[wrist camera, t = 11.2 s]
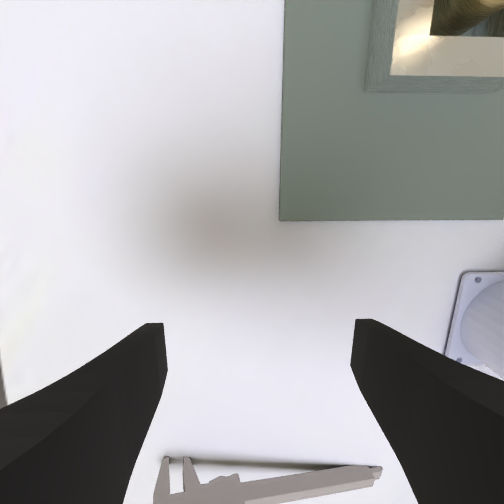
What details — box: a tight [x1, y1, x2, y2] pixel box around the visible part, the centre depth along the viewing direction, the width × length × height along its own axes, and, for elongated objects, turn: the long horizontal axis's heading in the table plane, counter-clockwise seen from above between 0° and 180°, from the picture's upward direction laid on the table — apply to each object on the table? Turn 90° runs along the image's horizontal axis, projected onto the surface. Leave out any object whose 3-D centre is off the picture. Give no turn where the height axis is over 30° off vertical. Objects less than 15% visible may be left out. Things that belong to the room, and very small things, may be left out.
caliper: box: [153, 457, 383, 504], centre depth 23 cm, size 20×1×6 cm, turn 84°
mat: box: [279, 0, 504, 221], centre depth 17 cm, size 16×18×1 cm
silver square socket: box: [364, 0, 504, 94], centre depth 15 cm, size 8×8×3 cm
